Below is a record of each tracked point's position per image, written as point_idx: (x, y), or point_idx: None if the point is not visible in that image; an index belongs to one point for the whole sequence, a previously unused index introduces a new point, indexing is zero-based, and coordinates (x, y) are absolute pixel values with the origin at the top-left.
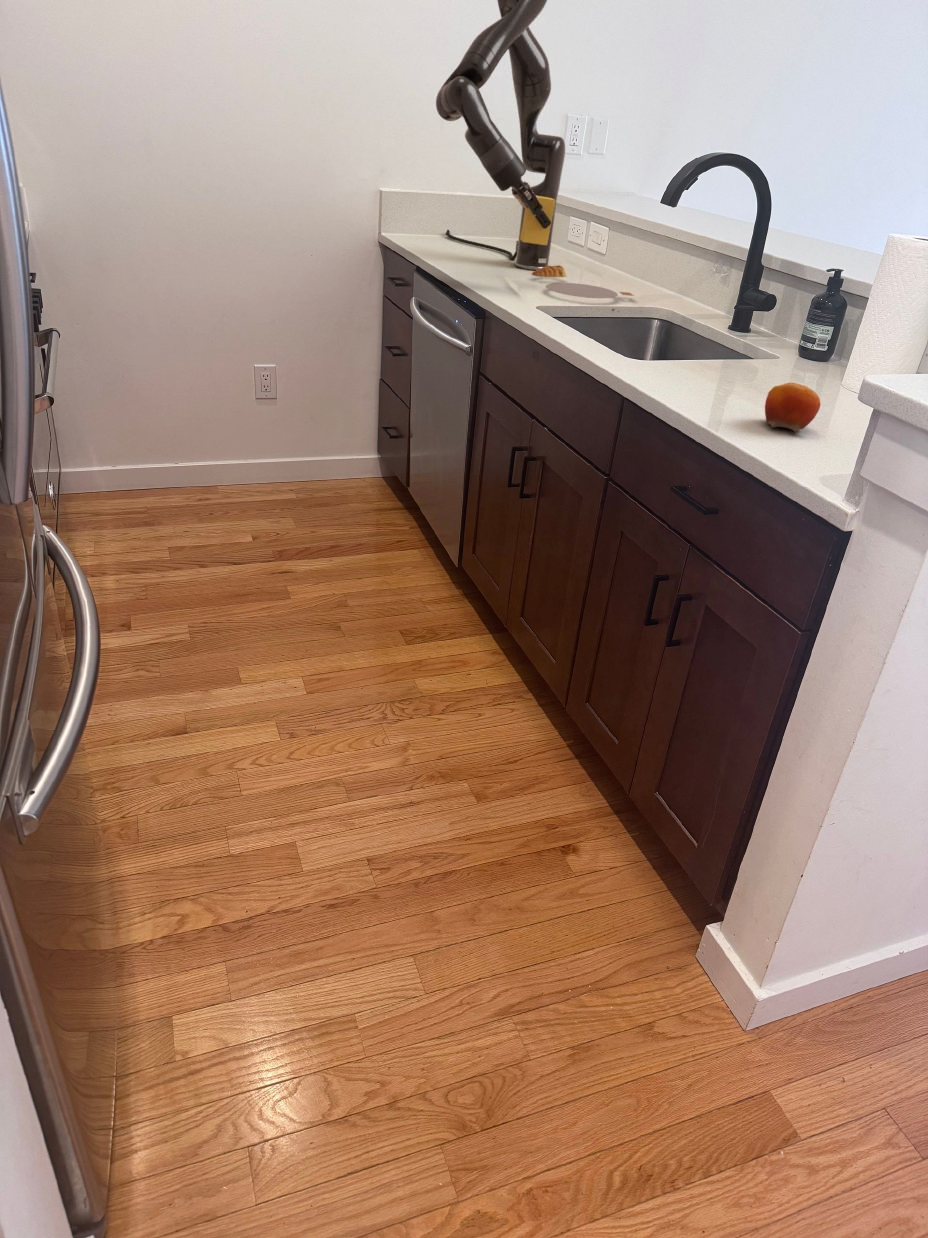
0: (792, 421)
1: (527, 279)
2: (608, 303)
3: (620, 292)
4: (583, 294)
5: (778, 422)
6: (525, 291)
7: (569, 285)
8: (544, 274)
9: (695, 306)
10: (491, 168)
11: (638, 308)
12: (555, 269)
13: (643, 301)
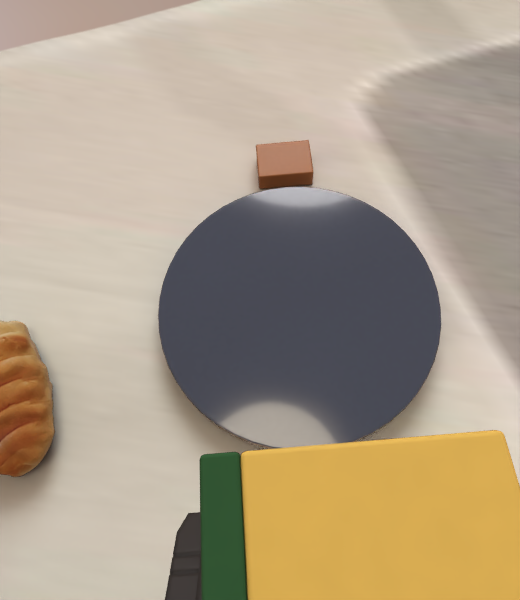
0: None
1: (5, 494)
2: None
3: (270, 173)
4: (387, 309)
5: None
6: None
7: (217, 338)
8: (42, 421)
9: (287, 11)
10: None
11: (410, 155)
12: (14, 366)
13: (283, 124)
